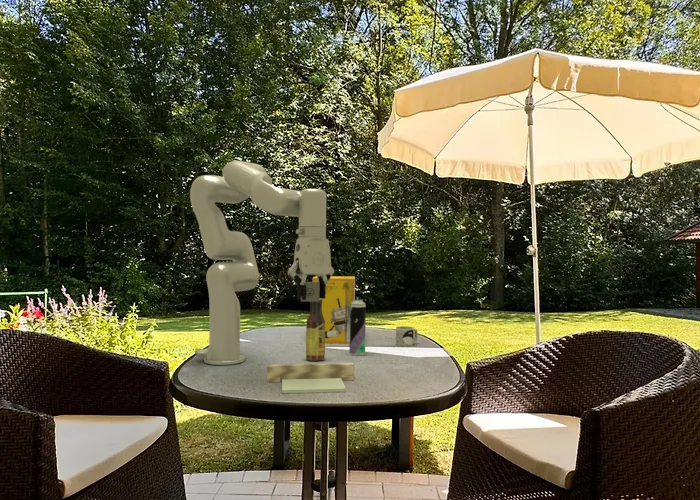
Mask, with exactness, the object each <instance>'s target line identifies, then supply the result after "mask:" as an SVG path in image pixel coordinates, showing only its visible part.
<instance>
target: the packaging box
mask: <svg viewBox="0 0 700 500" xmlns="http://www.w3.org/2000/svg"><path fill="white" fill-rule="evenodd" d="M311 282H318V279H317V276H316V275H314V276H313V277H312V281H311ZM355 285H356V277H355V276H350V275H349V276H346V275H345V276H342V275H341V276H336V275H335V276H334V275H332V276H331V278H330V279H329V280H328V283H327V284H326V294H325V298H324V299H323V298H320V299H322V315H323V317H324V320H325V344H349V343H350V303H351V302H353V301H354V300H355V296H356V294H355V293H356V286H355Z"/></svg>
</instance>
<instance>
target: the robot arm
mask: <svg viewBox="0 0 700 500" xmlns="http://www.w3.org/2000/svg"><path fill="white" fill-rule="evenodd" d="M189 197H190V203H191V204H190V205H191V207H192V210H193V212H194V215H195V217H196V220H197V223H198V227H199V232H200V235H201V240H202V244H203V248H204V251H205V254H206V256H207V257H208V258H209V259H210V260H217V261H218V260H220V262H219V261H218V262H217V263H213V264H212V265H211V266H210V267H209V268H208V270H207V272H206V277H205V278H206V285H207V290H208V298H209V310H208V311H209V326H208V327H209V334H208V335H209V337H208V339H209V340H208V341H209V346H207V347H205V348H195V349H194V355H195V356H198V357H199V356H205V357H204V359H203V362H204V363H205V364H209V365H214V366H228V365H236V364H240V363H243V362H244V361H245V360H246V359H245V358H246V357H245V355H242V354H240V353H241V351H240V350H241V303H240V300H239V298H238V296H237V294H236V292H243V291H244V292H245V291H250V290H253V289H255V288H256V286H257V285H258V284H259V280H260V278H259V277H260V274H259V268H258V265H257V261H256V260H257V259H256V257H255V252H254V248H253V244H252V242H251V240H250V238H249V236H248V235H247V234H245V233H244V232H242V231H238V230H237V231H236V230H230V229H229V228H228V226H227V223H226V218H225V216H224V214H223V212H222V210H221V209H220V207H218V206H217V205H216V204H215V203H222V204H223V203H224V204H232V205H233V204H239V203H242V202H244V201H245V200H247V199H248V198H250V199H251V202H252V203H253V204H254V206H256V207H258V208H259V209H261V210H263V211H265V212H266V213H269V214H271V215H275V216H281V217H282V216H285V217H295V218H296V217H297V218H298V228H297V229H296V230H295V234H296V235H298V238H297V239H296V241H295V247H294V255H293V264H292V265H291V266H290V268H289V269H287V274H288V275H289V276H290V277H291V279H292V280H293V282H294V283H295V285H296V296H297V297H296V299H297V300H300V301H301V296H302V300H305V299H306V285H304V283H305V282H306V280H307V277H308V276H317V279H318V282H320V298H323V299H324V298H325V294H326V284H327V283H328V280H329V279H330V278H331V276H333V275H334V273H335V269H334V267H333V266H332V260H331V259H332V258H331V257H332V256H331V246H330V241H329V239H328V238H327V236H326V235H327V233H326V232H327V193H326V191H325V190H323V189H321V188H304V189H302V190H294V189H289V188H281V187H276V186H274V185H273V179H272V177H271V176H270V175H269V174H268V173H267V170H266V169H265V167H263V166H262V165H261V164H258V163H253V162H248V161H243V160H232V161H229V162H228V163H226V164H225V166H223V168H222V176H219V175H213V174H205V175H200V176H198V177H196V178H195V179H194V181H192V183H191V186H190V191H189ZM227 260H228V261H227ZM229 260H230V261H229Z"/></svg>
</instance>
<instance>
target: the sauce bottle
mask: <svg viewBox="0 0 700 500" xmlns="http://www.w3.org/2000/svg"><path fill="white" fill-rule="evenodd" d="M309 303H310V306H309V307H310V310H309V312H310V313H309V314H308V316H307V318H306V326H305V329H306V330H305V360H306V361H310V362H318V361H323V360H325V354H326V343H325V320H324V317H323V315H322V299H320V300H319V301H309Z"/></svg>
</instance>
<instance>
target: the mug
mask: <svg viewBox="0 0 700 500" xmlns="http://www.w3.org/2000/svg"><path fill="white" fill-rule="evenodd" d="M418 336H419V335H418V329H417V328H414V327H412V326H397V327H395V346H397V347H405V348H406V347H407V348H408V347H413V346H414V343H415V342H416V341H418Z"/></svg>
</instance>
